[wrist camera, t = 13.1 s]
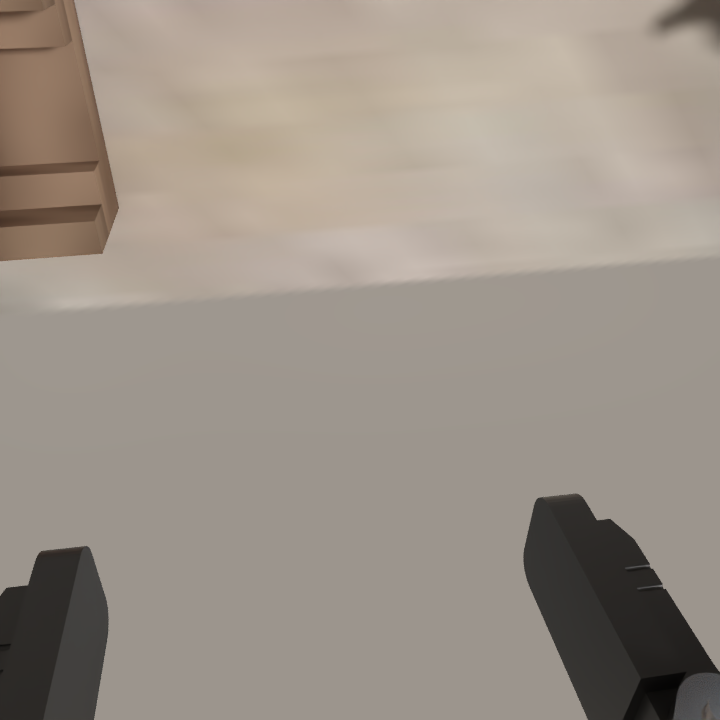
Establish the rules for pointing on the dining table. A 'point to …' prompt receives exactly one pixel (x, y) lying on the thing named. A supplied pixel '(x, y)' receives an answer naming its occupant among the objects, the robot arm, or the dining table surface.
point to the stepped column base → (50, 137)
